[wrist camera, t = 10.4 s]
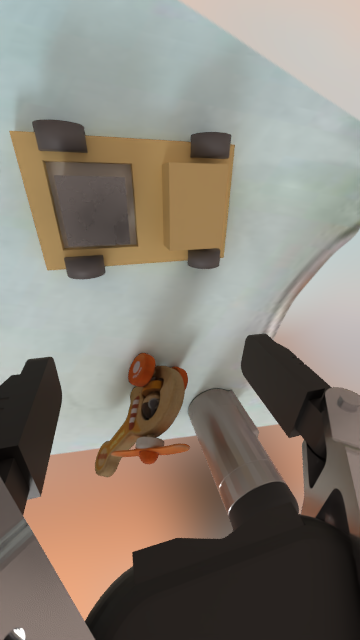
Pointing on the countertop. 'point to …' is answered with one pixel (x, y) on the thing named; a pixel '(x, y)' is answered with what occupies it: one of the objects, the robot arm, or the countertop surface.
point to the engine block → (93, 209)
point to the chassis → (131, 195)
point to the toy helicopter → (146, 415)
